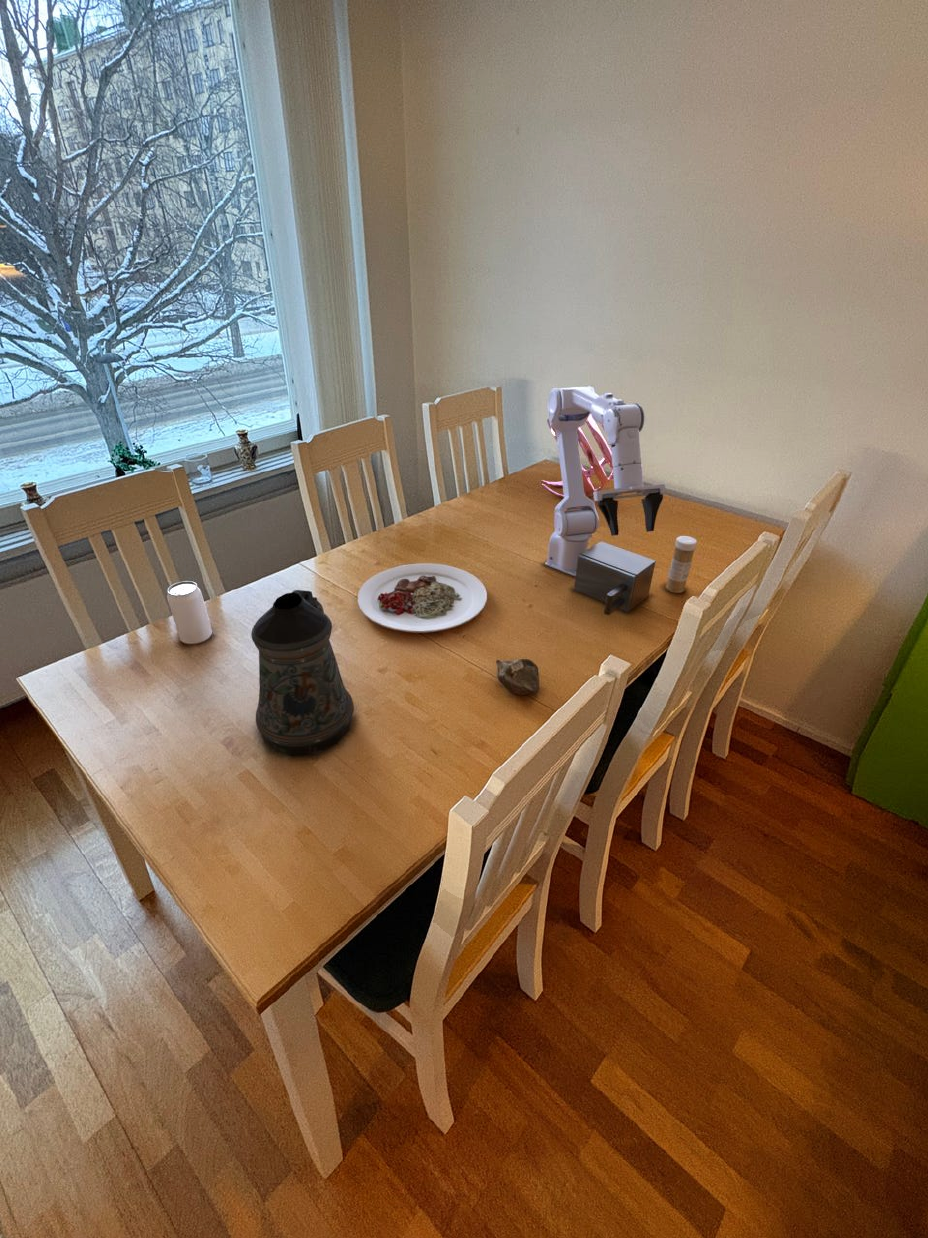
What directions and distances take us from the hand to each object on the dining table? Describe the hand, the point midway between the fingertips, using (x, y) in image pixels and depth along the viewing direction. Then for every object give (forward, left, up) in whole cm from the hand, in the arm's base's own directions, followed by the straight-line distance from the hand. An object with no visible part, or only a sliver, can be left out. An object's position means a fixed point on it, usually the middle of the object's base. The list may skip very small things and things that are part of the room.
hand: (632, 533), depth 122 cm
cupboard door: (-7, +1, -21) cm, 22 cm away
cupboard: (-7, +10, -21) cm, 24 cm away
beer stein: (-24, -66, -21) cm, 74 cm away
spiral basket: (-48, +58, -21) cm, 78 cm away
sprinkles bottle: (+4, +22, -21) cm, 31 cm away
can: (-62, -67, -21) cm, 94 cm away
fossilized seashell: (-2, -33, -21) cm, 40 cm away
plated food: (-37, -24, -21) cm, 50 cm away
